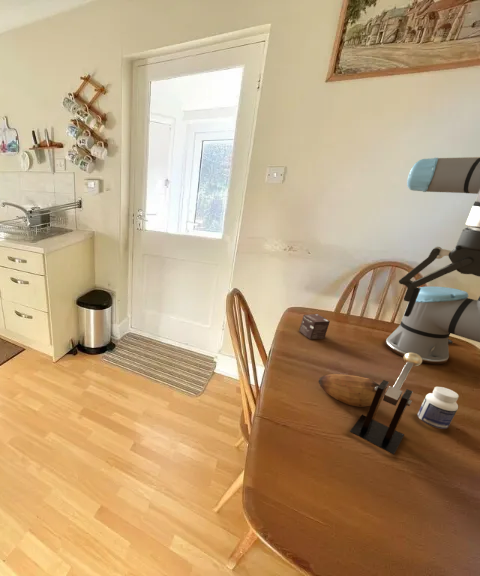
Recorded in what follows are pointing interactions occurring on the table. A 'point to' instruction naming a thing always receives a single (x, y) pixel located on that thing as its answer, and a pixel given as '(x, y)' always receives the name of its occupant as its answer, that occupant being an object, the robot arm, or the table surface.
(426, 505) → the table surface
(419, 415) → the pill bottle
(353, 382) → the potato
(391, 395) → the hinged lever
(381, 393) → the black lever stand
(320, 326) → the box
